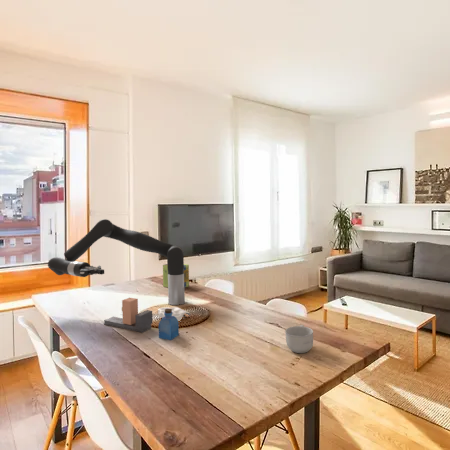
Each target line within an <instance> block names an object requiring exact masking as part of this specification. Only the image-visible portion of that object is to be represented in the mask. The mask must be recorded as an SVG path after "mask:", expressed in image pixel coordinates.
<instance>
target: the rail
mask: <svg viewBox="0 0 450 450" xmlns="http://www.w3.org/2000/svg"><path fill="white" fill-rule="evenodd" d="M135 318H136V323H134V324H132V325H129V324H124V323H123V317H118V316H117V317H116V316H111V317H109V318H106V319H104V320H103V321H104V323H103V324H104V325H106V326H111V327H115V328H118V329H119V328H121V329H125V330H128V331H129V330H130V331H134V332H139V333H146V331H148V330H151V329H152V324H153V310H149V309H146V310H144V311H142V312H138V314H137V315H135Z"/></svg>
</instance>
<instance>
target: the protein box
mask: <svg viewBox="0 0 450 450" xmlns="http://www.w3.org/2000/svg"><path fill="white" fill-rule="evenodd" d="M189 266H190V264H188V263H187V264H186V263H184V289H186V288H189V287H190V268H189ZM162 286H163V287H164V288H168V268H167V263H165V264H163V265H162Z"/></svg>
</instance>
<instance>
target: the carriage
mask: <svg viewBox="0 0 450 450" xmlns="http://www.w3.org/2000/svg"><path fill="white" fill-rule="evenodd" d="M121 303H122V304H121V305H122V307H121V313H122V318H123V323H124V324H129V325H132V324H134V323H136V318H135V315H137V314H139V300H138V298H135V297H128V298H125V299H122V300H121Z"/></svg>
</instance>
